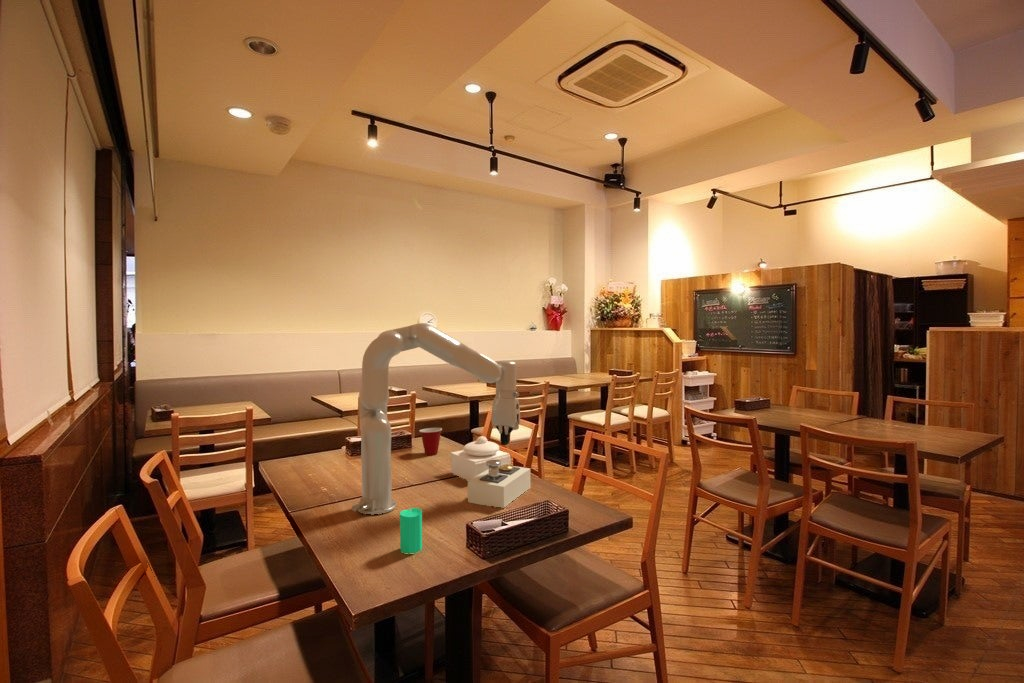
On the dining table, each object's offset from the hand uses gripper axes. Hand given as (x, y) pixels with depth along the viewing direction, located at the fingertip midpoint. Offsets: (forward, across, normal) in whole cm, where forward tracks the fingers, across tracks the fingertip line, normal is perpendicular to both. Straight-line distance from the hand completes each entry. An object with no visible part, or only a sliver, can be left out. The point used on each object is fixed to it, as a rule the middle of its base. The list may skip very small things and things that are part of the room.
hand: (504, 444), depth 177 cm
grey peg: (+12, -1, +9) cm, 15 cm away
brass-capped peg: (+16, -1, -1) cm, 16 cm away
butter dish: (+18, +18, -14) cm, 29 cm away
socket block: (+18, -1, +4) cm, 18 cm away
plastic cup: (+18, +54, -30) cm, 65 cm away
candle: (+19, +2, +52) cm, 55 cm away
